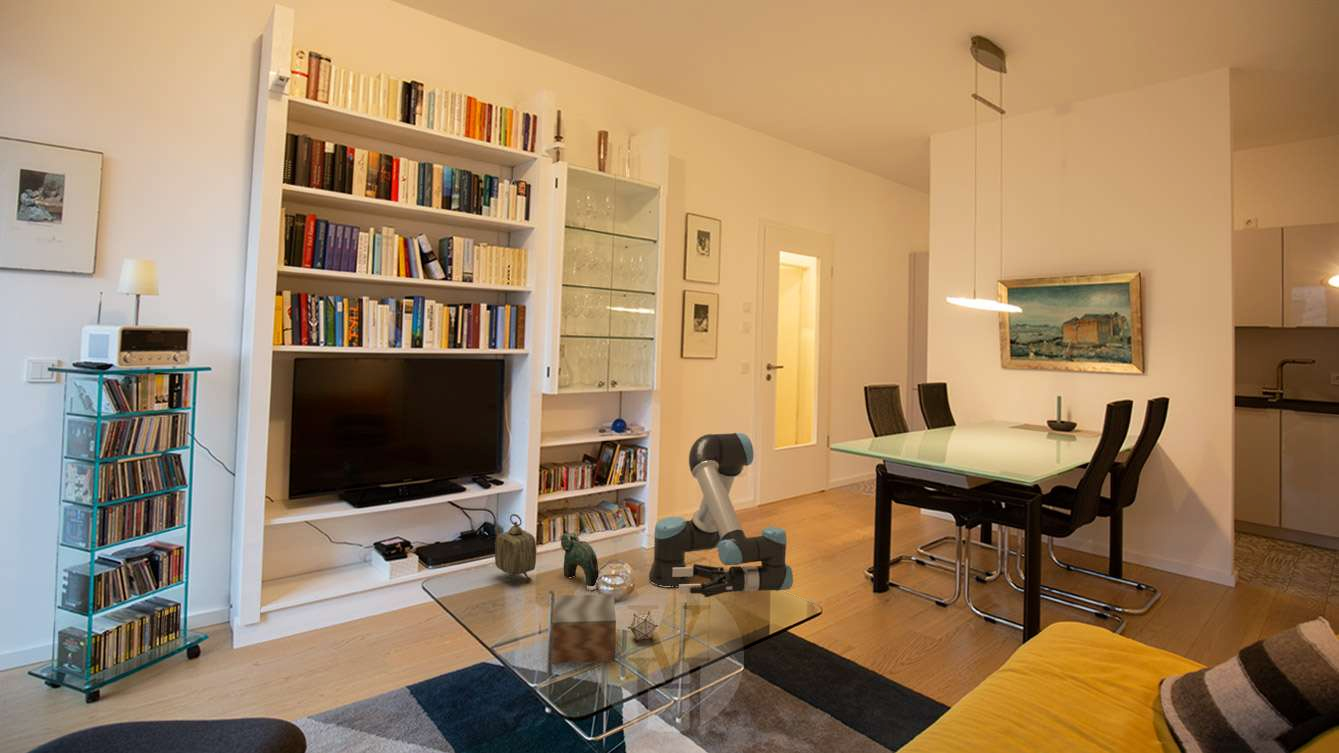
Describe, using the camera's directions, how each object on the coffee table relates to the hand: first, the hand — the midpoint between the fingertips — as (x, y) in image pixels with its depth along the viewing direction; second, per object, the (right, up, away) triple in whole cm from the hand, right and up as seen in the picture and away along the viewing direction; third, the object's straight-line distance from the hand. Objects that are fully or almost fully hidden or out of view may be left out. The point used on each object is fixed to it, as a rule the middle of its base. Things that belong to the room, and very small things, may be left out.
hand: (675, 580), depth 197 cm
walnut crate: (-28, -18, -5) cm, 33 cm away
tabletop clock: (-60, -14, +43) cm, 75 cm away
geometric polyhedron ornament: (-10, -18, 0) cm, 21 cm away
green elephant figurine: (-35, -14, +43) cm, 57 cm away
